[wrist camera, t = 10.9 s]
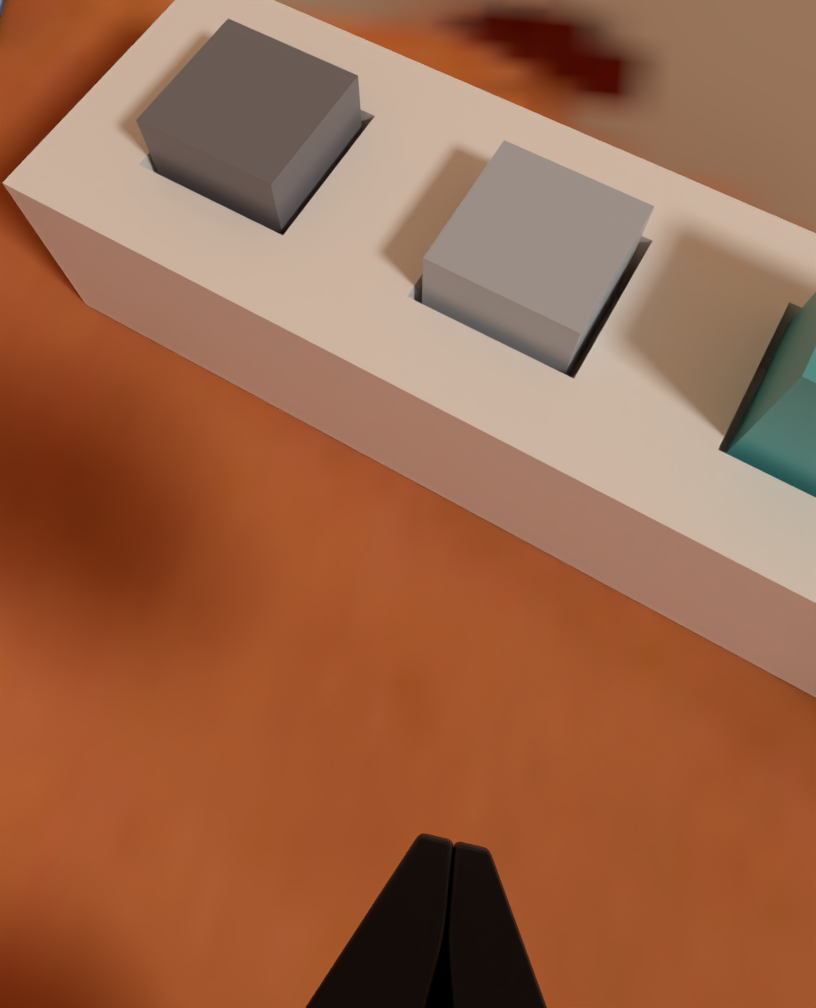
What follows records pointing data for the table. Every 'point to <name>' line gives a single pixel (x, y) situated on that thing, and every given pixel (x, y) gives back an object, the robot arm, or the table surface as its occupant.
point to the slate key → (534, 256)
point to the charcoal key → (253, 125)
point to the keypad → (466, 328)
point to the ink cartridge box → (1, 6)
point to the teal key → (785, 409)
